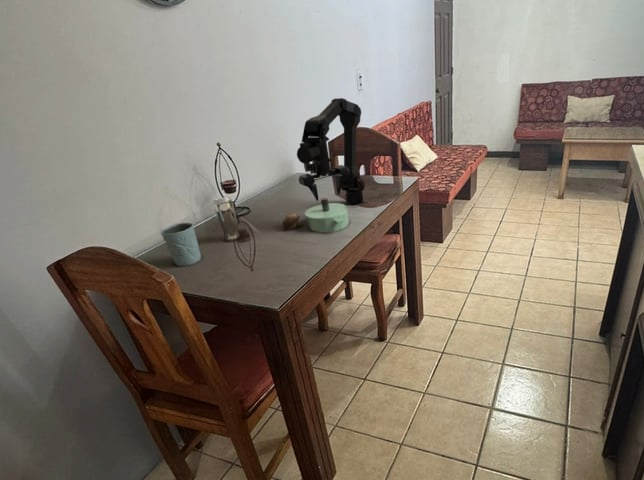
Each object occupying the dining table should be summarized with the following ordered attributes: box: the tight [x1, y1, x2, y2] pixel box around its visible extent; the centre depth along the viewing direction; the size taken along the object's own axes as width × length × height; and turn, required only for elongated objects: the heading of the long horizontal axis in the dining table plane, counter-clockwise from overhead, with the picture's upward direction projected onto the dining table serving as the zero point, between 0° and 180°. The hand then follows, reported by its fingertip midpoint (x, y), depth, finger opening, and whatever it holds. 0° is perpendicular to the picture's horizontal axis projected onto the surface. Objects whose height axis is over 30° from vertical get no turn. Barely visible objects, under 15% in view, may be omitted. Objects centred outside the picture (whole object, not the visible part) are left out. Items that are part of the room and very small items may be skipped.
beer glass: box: [212, 196, 242, 243], centre depth 156 cm, size 7×7×15 cm
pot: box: [307, 211, 350, 234], centre depth 161 cm, size 15×21×5 cm
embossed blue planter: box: [160, 222, 202, 267], centre depth 143 cm, size 10×10×12 cm
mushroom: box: [282, 213, 302, 231], centre depth 161 cm, size 8×8×6 cm
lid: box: [304, 197, 348, 220], centre depth 158 cm, size 16×16×6 cm
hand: (328, 197), depth 161 cm, fingers open, 9 cm apart
